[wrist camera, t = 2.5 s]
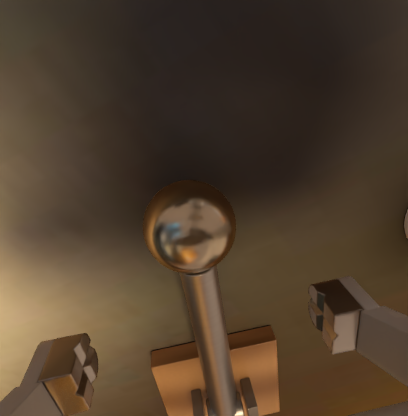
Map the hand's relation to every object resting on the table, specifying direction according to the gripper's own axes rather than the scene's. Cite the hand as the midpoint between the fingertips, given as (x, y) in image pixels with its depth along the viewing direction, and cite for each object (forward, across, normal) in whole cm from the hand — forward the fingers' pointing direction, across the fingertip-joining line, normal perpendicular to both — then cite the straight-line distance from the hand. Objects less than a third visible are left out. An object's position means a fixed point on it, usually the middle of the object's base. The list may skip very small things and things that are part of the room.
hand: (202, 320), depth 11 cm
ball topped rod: (+9, 0, +7) cm, 11 cm away
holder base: (+9, 0, +17) cm, 19 cm away
